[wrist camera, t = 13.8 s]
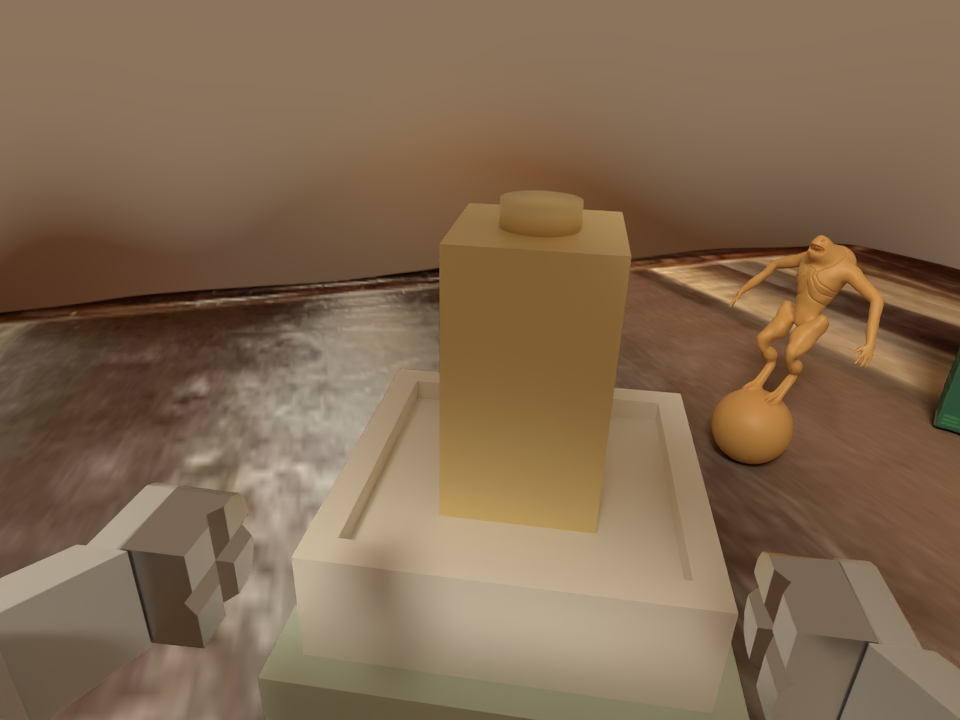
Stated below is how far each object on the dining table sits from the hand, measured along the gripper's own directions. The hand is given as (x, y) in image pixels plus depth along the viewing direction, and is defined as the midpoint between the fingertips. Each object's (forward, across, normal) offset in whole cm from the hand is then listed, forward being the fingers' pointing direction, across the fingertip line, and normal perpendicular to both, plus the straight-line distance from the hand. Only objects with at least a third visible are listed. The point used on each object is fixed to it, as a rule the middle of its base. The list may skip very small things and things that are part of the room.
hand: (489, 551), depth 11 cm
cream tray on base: (+11, 0, +13) cm, 17 cm away
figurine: (+24, -12, +13) cm, 30 cm away
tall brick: (+11, 0, +7) cm, 13 cm away
